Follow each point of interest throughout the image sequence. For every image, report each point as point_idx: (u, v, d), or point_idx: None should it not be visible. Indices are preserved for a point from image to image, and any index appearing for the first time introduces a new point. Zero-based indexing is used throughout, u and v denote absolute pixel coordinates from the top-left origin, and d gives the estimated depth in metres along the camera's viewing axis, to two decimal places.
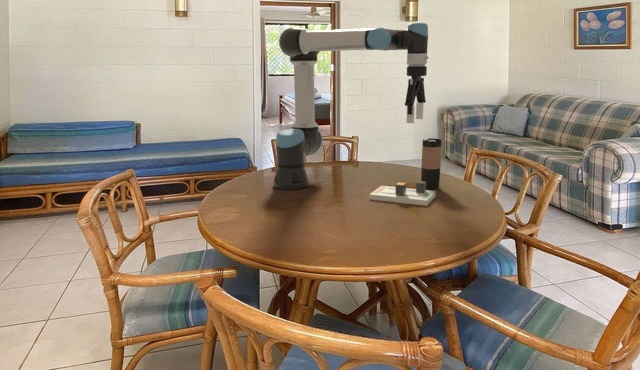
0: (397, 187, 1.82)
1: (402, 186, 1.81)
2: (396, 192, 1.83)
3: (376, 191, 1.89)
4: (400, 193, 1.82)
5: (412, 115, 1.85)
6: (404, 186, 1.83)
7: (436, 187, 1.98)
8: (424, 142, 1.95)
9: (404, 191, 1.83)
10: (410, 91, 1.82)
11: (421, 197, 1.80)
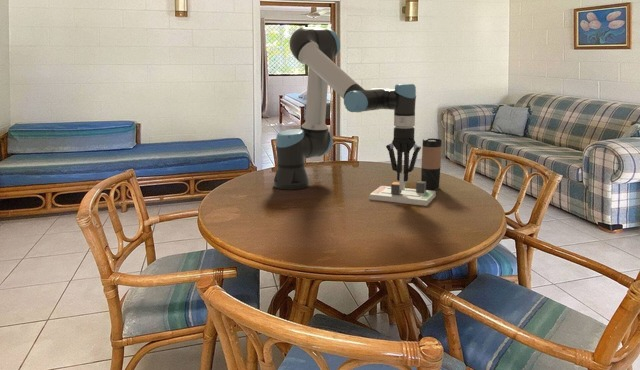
0: (393, 187, 1.83)
1: (398, 186, 1.82)
2: (392, 192, 1.84)
3: (376, 191, 1.89)
4: (396, 193, 1.83)
5: None
6: None
7: (436, 187, 1.98)
8: (424, 142, 1.95)
9: (400, 191, 1.84)
10: None
11: (421, 197, 1.80)
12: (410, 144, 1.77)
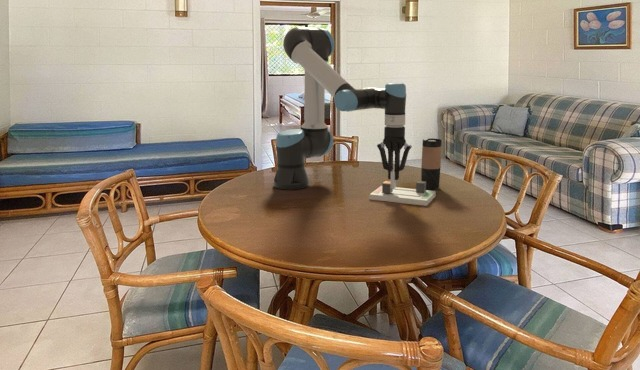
0: (384, 186, 1.85)
1: (389, 185, 1.84)
2: (383, 191, 1.85)
3: (376, 191, 1.89)
4: (387, 192, 1.85)
5: None
6: None
7: (436, 187, 1.98)
8: (424, 142, 1.95)
9: (391, 190, 1.85)
10: None
11: (421, 197, 1.80)
12: (401, 143, 1.78)
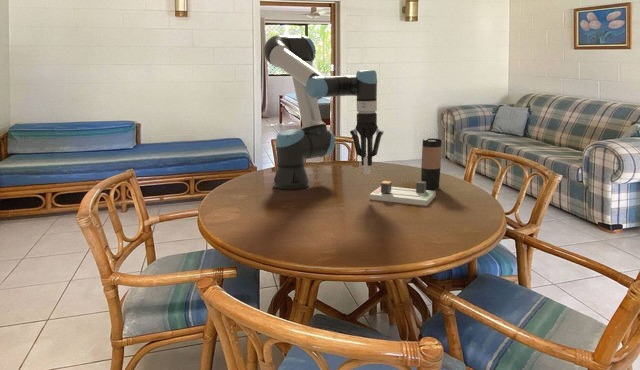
0: (382, 186, 1.85)
1: (387, 185, 1.84)
2: (381, 190, 1.85)
3: (376, 191, 1.89)
4: (385, 191, 1.85)
5: None
6: (389, 185, 1.85)
7: (436, 187, 1.98)
8: (424, 142, 1.95)
9: (389, 189, 1.86)
10: None
11: (421, 197, 1.80)
12: (372, 129, 1.82)
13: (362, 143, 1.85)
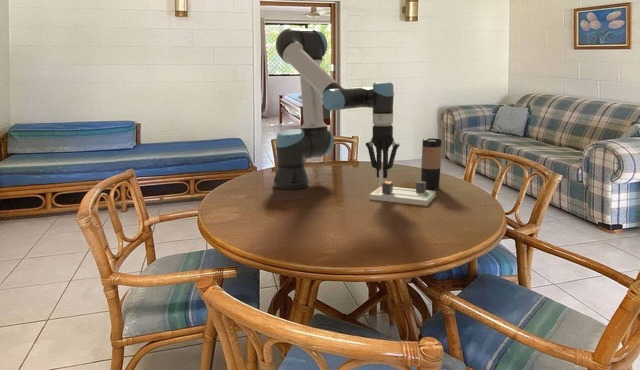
0: (384, 186, 1.85)
1: (389, 185, 1.84)
2: (383, 191, 1.85)
3: (376, 191, 1.89)
4: (387, 192, 1.85)
5: None
6: (391, 185, 1.85)
7: (436, 187, 1.98)
8: (424, 142, 1.95)
9: (391, 190, 1.85)
10: None
11: (421, 197, 1.80)
12: (388, 141, 1.80)
13: (378, 155, 1.83)
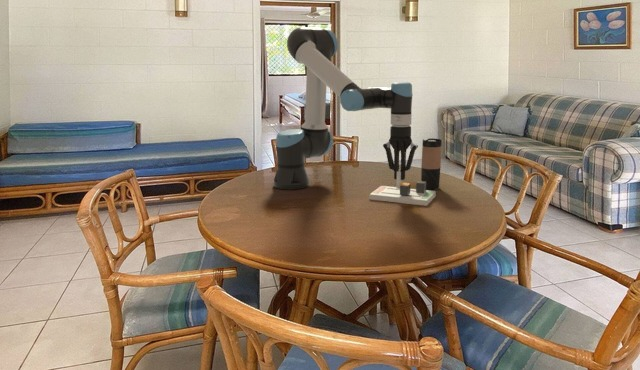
0: (401, 187, 1.82)
1: (406, 186, 1.81)
2: (400, 192, 1.82)
3: (376, 191, 1.89)
4: (404, 193, 1.82)
5: None
6: (408, 186, 1.82)
7: (436, 187, 1.98)
8: (424, 142, 1.95)
9: (408, 191, 1.82)
10: None
11: (421, 197, 1.80)
12: (407, 143, 1.77)
13: (395, 157, 1.80)
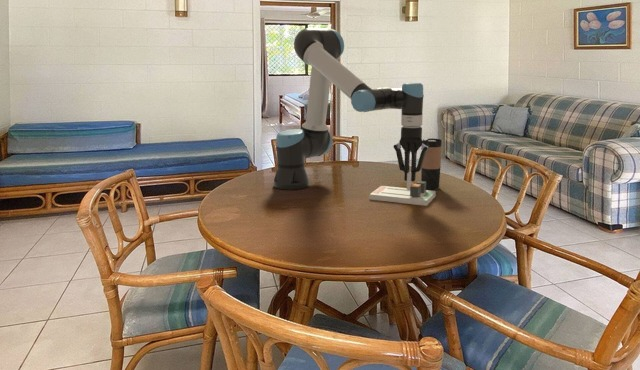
0: (412, 188, 1.80)
1: (417, 187, 1.79)
2: (411, 194, 1.81)
3: (376, 191, 1.89)
4: (415, 195, 1.80)
5: None
6: (419, 187, 1.80)
7: (436, 187, 1.98)
8: (424, 142, 1.95)
9: (419, 193, 1.81)
10: None
11: (421, 197, 1.80)
12: (418, 144, 1.76)
13: (406, 158, 1.79)
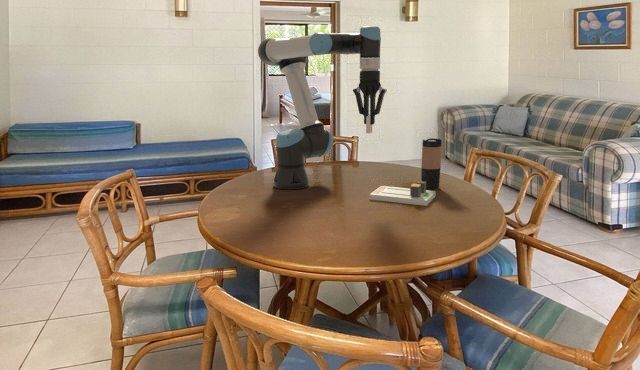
0: (412, 189, 1.80)
1: (417, 188, 1.79)
2: (411, 194, 1.80)
3: (376, 191, 1.89)
4: (415, 195, 1.80)
5: None
6: (419, 188, 1.80)
7: (436, 187, 1.98)
8: (424, 142, 1.95)
9: (419, 193, 1.81)
10: None
11: (421, 197, 1.80)
12: (375, 87, 1.81)
13: (365, 101, 1.84)
